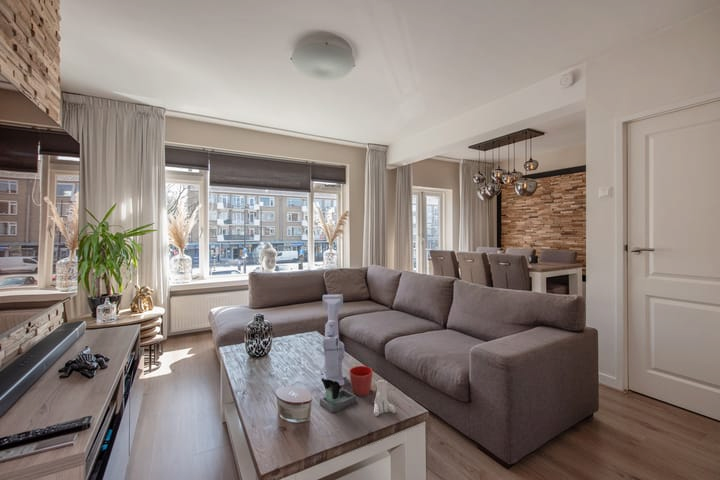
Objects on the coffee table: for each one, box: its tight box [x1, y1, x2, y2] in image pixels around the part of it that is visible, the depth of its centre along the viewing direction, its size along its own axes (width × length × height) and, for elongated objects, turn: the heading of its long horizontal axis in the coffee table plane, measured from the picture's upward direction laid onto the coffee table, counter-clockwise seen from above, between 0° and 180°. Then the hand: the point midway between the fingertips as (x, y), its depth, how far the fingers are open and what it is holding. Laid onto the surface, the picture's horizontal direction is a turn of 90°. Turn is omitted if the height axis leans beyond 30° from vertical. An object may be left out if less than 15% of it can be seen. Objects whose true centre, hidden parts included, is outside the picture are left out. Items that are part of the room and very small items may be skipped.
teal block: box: [325, 387, 339, 404], centre depth 134 cm, size 4×4×5 cm
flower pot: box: [349, 365, 373, 396], centre depth 145 cm, size 11×11×10 cm
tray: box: [319, 388, 357, 414], centre depth 136 cm, size 9×13×2 cm
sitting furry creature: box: [373, 379, 397, 417], centre depth 130 cm, size 10×9×12 cm
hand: (332, 396), depth 134 cm, fingers closed on teal block, 4 cm apart
